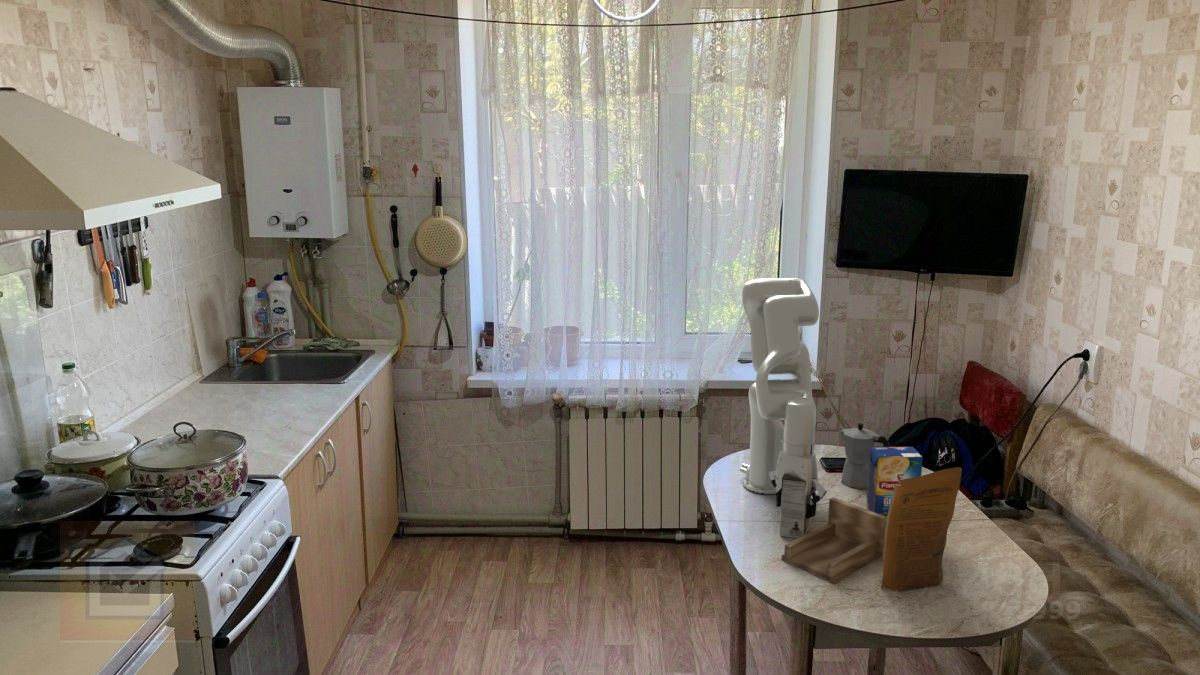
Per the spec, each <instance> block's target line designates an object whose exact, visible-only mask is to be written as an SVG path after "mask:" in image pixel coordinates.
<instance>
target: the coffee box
mask: <svg viewBox="0 0 1200 675" xmlns="http://www.w3.org/2000/svg"><path fill="white" fill-rule="evenodd" d="M806 482H807V481H805V480H802V479H799V478H797V477H793V476H791V475H788V474H784V475H783V477H782V492H781V507H780V517H779V518H780V519H779V520H780V521H779V523H780V524H779V536H780V537H786V538H790V539H791V538H793V539H798V538H800V537H802V536H804V535H806V534H808V531H809V528H810V524H811V518H810V519H807V518H806V505H807V504H808V501H807V496H806V495H805V489H806ZM810 496H811V494H810ZM811 497H812V496H811Z"/></svg>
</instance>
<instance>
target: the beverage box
mask: <svg viewBox="0 0 1200 675" xmlns="http://www.w3.org/2000/svg"><path fill="white" fill-rule="evenodd" d="M923 459H924V456H923V455H922V454H920V452H919V451H918V450H917V449H916V448H914V447H913V446H889V447H883V446H880V447H878V446H877V447H876V446H875V447H870V459H869V473H868V487H867V488H866V489H867V490H866V504H865V509H866V510H869V511H872V512H874V513H877V514H880V515H883V516H885V517H886V521H887V516H888V511H889V507H890V504H891V499H892V495H893V492H894V488H895V485H900V484H899V480H903V479H908V478H913V477H918V476H922V470H923V469H922V468H923ZM885 531H886V524H885ZM884 540H885V537H884Z"/></svg>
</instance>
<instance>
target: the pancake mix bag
mask: <svg viewBox="0 0 1200 675" xmlns="http://www.w3.org/2000/svg"><path fill="white" fill-rule="evenodd" d="M962 471H963V470H962V467H958V466H956V467H950V468H945V469H941V470H937V471H933V472H930V473H927V474H923V475H921V476H918V477H913V478H908V479H903V480H899V484H900V485H895V488H894V492H893V495H892V499H891V504H890V507H889V511H888V516H887V521H886V531H885V539H884V550H883V559H882V578H881V583H880V584H881V585H880V588H881V589H885V590H887V591H888V590H889V591H891V592H905V591H911V590H916V589H923V588H928V587H935V586H940V585H941V584H942V583H943V580H944V572H943V558H944V553H945V549H946V546H947V538H948V529H949V527H950V524H951V521H952V519H953V515H954V513H955V506H956V500H957V495H958V493H959V491H960V490H959V489H960V487H961V486H960V485H961V479H962Z"/></svg>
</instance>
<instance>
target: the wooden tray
mask: <svg viewBox="0 0 1200 675" xmlns="http://www.w3.org/2000/svg"><path fill="white" fill-rule="evenodd" d="M828 501H829V502H828V514H827V523H826V524H824V525H822V526H820V527H818V528H815V529H814V530H812V531H810V532H807V533H806V535H804V536H802V537H800V538H795V539H794V540H792V541H790V542H788V543H786V544H784V554H781V561H783V560H784V562H785V561H786V562H785V563H788V564H790V565H792V564H793V565H792V566H794V567H797V568H799V569H801V570H803V571H806V572H808V573H811V575H815V576H816V577H819V578H822V579H824V580H825V581H829V582H831V583H833V584H836V583H838V582H840V581H841V580H843V579H845V578H846V577H847V578H848V576H850V575H852V574H854V573H855V572H858V571H859V570H861V569H862V568H864V567H866V566H868V565H869V564H871V563H873V562H875V561H876V560H878V559H879V558H881V557H884V543H885V539H884V537H885V524H886V517H885V516H883V515H880V514H877V513H874V512H872V511H869V510H866V508H864V507H861V506H858V505H854V504H852V503H850V502H847V501H844V500H841V499H839V498H835V497H831V498H829V499H828Z"/></svg>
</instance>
